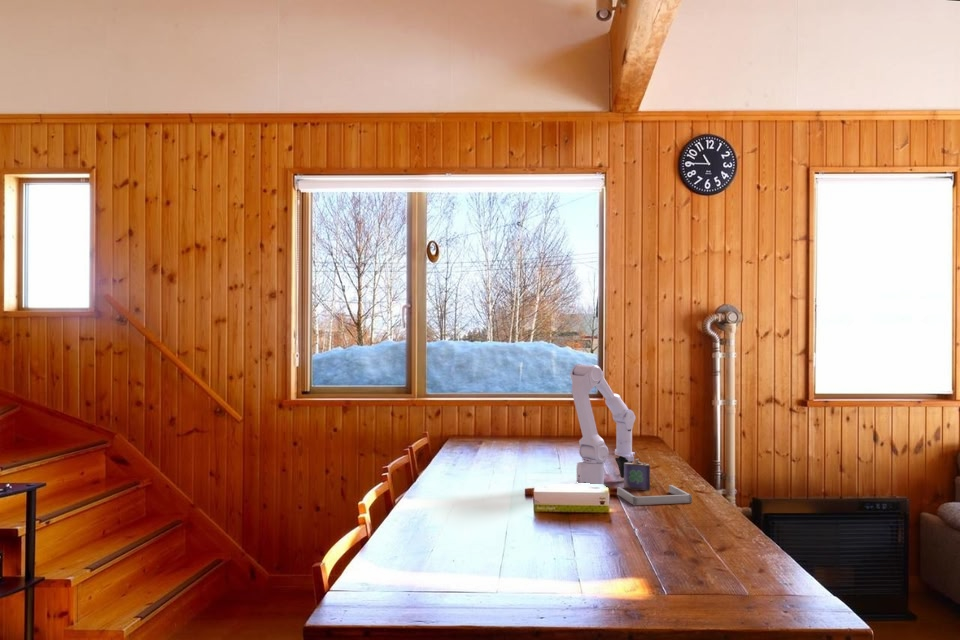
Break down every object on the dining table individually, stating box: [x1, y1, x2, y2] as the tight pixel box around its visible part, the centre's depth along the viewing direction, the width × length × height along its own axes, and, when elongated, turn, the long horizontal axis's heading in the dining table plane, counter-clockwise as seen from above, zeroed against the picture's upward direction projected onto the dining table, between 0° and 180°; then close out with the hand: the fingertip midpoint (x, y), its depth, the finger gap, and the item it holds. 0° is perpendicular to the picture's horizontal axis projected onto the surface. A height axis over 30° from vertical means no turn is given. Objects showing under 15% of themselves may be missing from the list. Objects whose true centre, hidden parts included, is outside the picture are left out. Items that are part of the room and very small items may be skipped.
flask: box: [623, 458, 651, 492], centre depth 262 cm, size 9×3×11 cm, turn 65°
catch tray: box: [616, 484, 693, 506], centre depth 247 cm, size 20×15×2 cm
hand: (624, 477), depth 274 cm, fingers closed
